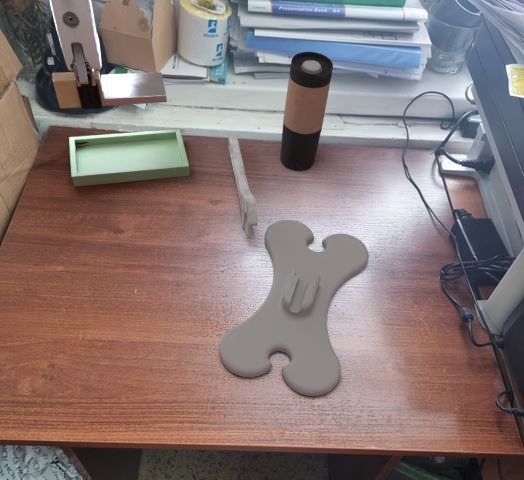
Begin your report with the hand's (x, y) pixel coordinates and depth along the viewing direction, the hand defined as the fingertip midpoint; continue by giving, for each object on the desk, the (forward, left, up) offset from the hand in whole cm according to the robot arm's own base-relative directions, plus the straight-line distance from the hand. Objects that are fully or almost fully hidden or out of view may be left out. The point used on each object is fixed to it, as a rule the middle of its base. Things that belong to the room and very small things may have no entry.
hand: (91, 101), depth 82 cm
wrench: (+21, -14, -17) cm, 30 cm away
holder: (+14, -41, -17) cm, 47 cm away
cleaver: (+4, +1, 0) cm, 4 cm away
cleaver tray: (+7, +5, -17) cm, 19 cm away
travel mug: (+37, -11, -17) cm, 42 cm away
